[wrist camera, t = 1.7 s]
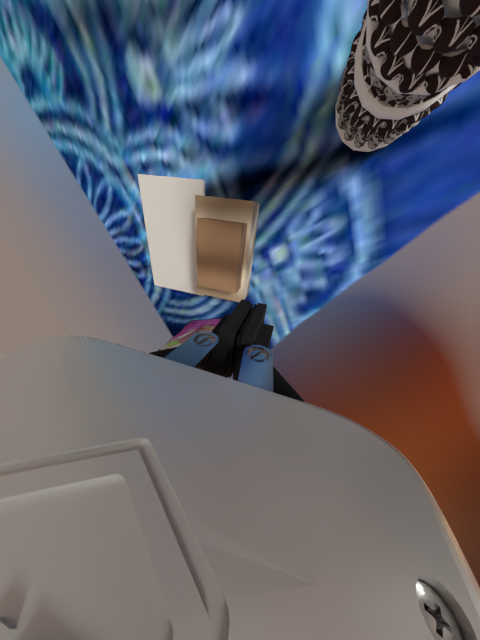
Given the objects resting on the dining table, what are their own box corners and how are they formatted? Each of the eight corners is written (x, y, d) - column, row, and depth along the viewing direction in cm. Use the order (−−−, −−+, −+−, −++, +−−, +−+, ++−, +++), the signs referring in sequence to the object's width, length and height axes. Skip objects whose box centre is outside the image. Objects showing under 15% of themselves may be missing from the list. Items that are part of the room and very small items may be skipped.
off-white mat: (140, 174, 29) (137, 174, 28) (204, 180, 27) (202, 179, 26) (156, 284, 38) (154, 285, 38) (204, 294, 36) (203, 296, 35)
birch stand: (208, 197, 27) (194, 194, 24) (260, 202, 26) (253, 201, 23) (207, 285, 35) (197, 293, 31) (248, 294, 33) (241, 302, 30)
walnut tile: (205, 217, 25) (196, 218, 23) (247, 223, 24) (242, 224, 22) (205, 280, 30) (198, 285, 28) (240, 287, 29) (235, 293, 27)
